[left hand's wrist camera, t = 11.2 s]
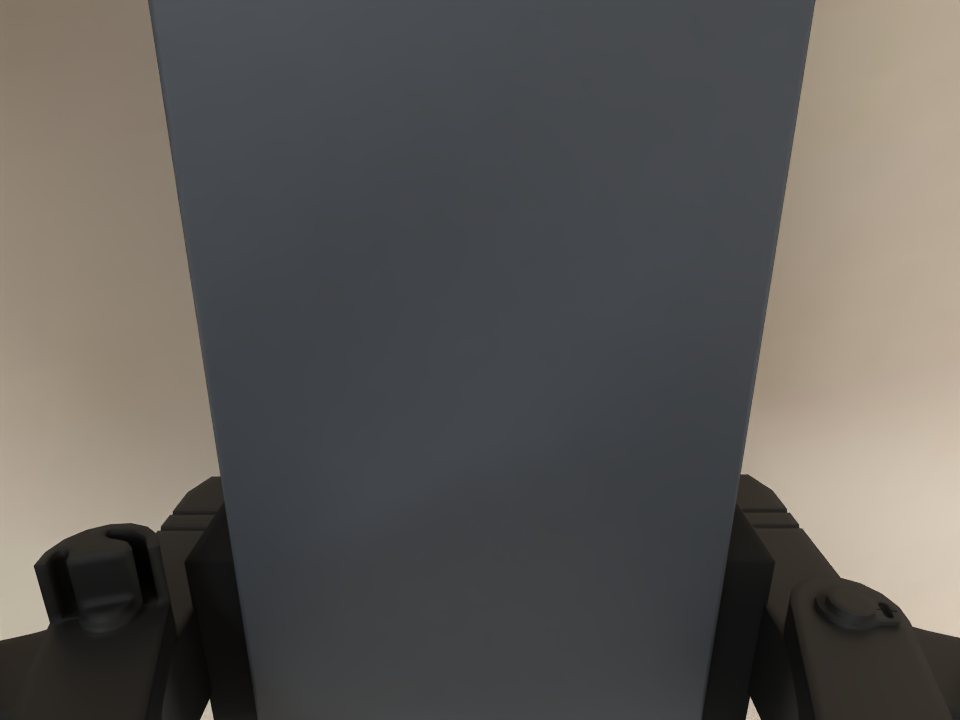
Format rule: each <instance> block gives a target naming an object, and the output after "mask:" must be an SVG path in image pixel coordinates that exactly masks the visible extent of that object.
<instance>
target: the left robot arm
mask: <svg viewBox="0 0 960 720" xmlns="http://www.w3.org/2000/svg"><path fill="white" fill-rule="evenodd" d="M34 568H35V572H36V575H37V579H38V583H39V586H40V590H41V593H42V597H43V600H44V604H45V607H46V611H47V614H48V618H49V621H50V624H49V626H48V629H47V630H44V631H41V632H37V633H34V634H29V635H24V636H20V637H15V638H11V639H6V640H2V641H0V720H200V718H201V716H202V714H203V712H204V710H205V708H206V706H207V703H208V701H209V699H210V702H211V707H212V712H213V718H214V720H258V718H257V712H256V705H255V698H254V692H253V685H252V679H251V672H250V666H249V659H248V653H247V646H246V639H245V633H244V626H243V620H242V613H241V607H240V600H239V593H238V587H237V580H236V574H235V567H234V561H233V554H232V547H231V541H230V534H229V528H228V521H227V515H226V508H225V501H224V495H223V488H222V482H221V477H210V478H209V479H207V480H206V481H204V482H203V483H201V484H200V485H198V486H197V487H195V488H194V489H192V490H191V491H189V492H188V493H187V494H186V495H185V496H184V498H183V499H182V500H181V502H180V503H179V504H178V505H177V507H176V508H175V509H174V511H173V515H170V516H169V517H168V518H167V520H166V521H165V522H164V524H163V525H162V526H161V531H157V533H155V532H153V531H152V530H151V529H150V528H148V527H146V526H141V525H137V524H132V523H127V524H109V525H105V526H101V527H97V528H93V529H89V530H85V531H83V532H81V533H78V534H76V535H74V536H71V537H69V538H67V539H64V540H63V541H61V542H60V543H58V544H57V545H55V546H54V547H52V548H51V549H49V550H48V551H46V552H45V553H44V554H43V556H42V557H41V558H40V559H39V560H38V561H37V563H36V564H35V565H34ZM750 697H751V699H752V701H753V703H754V705H755V708H756V710H757V712H758V714H759V716H760V718H761V720H960V638H958V637H953V636H949V635H944V634H939V633H935V632H930V631H926V630H922V629H919V628H915V627H912V625H911V623H910V621H909V620H908V619H907V617H906V616H905V614H904V613H903V612H902V610H901V609H900V608H899V607H898V606H897V605H896V604H894V603H893V602H892V601H891V600H889V599H888V598H887V597H885V596H884V595H883V594H881V593H879V592H877V591H875V590H873V589H871V588H869V587H867V586H865V585H863V584H861V583H857V582H854V581H850V580H846V579H843V578H840V576H839V575H838V574H837V573H836V571H835V570H834V569H833V567H832V566H831V565H830V564H829V562H828V561H827V560H826V558H825V557H824V556H823V555H822V553H821V552H820V551H819V550H818V548H817V547H816V546H815V544H814V543H813V542H812V541H811V539H810V538H809V537H808V535H807V534H806V533H805V532H804V530H803V529H802V528H799V524H798V523H797V521H796V520H795V519H794V517H793V516H792V515H791V514H790V513H787V509H786V507H785V506H784V505H783V503H782V502H781V501H780V500H779V498H778V497H777V496H776V494H775V493H774V492H773V491H772V490H771V489H769V488H768V487H766V486H765V485H763V484H762V483H760V482H759V481H757V480H756V479H754V478H753V477H751V476H750V475H740V480H739V486H738V492H737V499H736V505H735V511H734V518H733V524H732V530H731V537H730V543H729V549H728V556H727V562H726V568H725V575H724V581H723V587H722V594H721V600H720V606H719V613H718V619H717V625H716V632H715V638H714V644H713V651H712V657H711V663H710V670H709V676H708V682H707V689H706V695H705V701H704V708H703V714H702V720H746V715H747V710H748V704H749V699H750Z"/></svg>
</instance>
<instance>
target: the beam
mask: <svg viewBox="0 0 960 720" xmlns="http://www.w3.org/2000/svg"><path fill="white" fill-rule="evenodd" d="M148 3H149V9H150V16H151V22H152V29H153V35H154V42H155V48H156V55H157V62H158V68H159V75H160V81H161V88H162V94H163V101H164V108H165V114H166V121H167V127H168V134H169V140H170V147H171V154H172V160H173V167H174V173H175V180H176V186H177V193H178V199H179V206H180V213H181V219H182V226H183V232H184V239H185V245H186V252H187V259H188V265H189V272H190V278H191V285H192V291H193V298H194V305H195V311H196V318H197V324H198V331H199V337H200V344H201V350H202V357H203V364H204V370H205V377H206V383H207V390H208V396H209V403H210V410H211V416H212V423H213V429H214V436H215V442H216V449H217V456H218V462H219V469H220V475H221V482H222V488H223V495H224V501H225V508H226V515H227V521H228V528H229V534H230V541H231V547H232V554H233V561H234V567H235V574H236V580H237V587H238V593H239V600H240V607H241V613H242V620H243V626H244V633H245V639H246V646H247V653H248V659H249V666H250V672H251V679H252V685H253V692H254V698H255V705H256V712H257V718H258V720H702V714H703V708H704V701H705V695H706V689H707V682H708V676H709V670H710V663H711V657H712V651H713V644H714V638H715V632H716V625H717V619H718V613H719V606H720V600H721V594H722V587H723V581H724V575H725V568H726V562H727V556H728V549H729V543H730V537H731V530H732V524H733V518H734V511H735V505H736V499H737V492H738V486H739V480H740V473H741V467H742V461H743V454H744V448H745V442H746V435H747V429H748V423H749V416H750V410H751V404H752V398H753V391H754V385H755V379H756V372H757V366H758V360H759V353H760V347H761V341H762V334H763V328H764V322H765V315H766V309H767V303H768V296H769V290H770V284H771V277H772V271H773V265H774V258H775V252H776V246H777V239H778V233H779V227H780V220H781V214H782V208H783V201H784V195H785V189H786V182H787V176H788V170H789V163H790V157H791V151H792V144H793V138H794V132H795V125H796V119H797V113H798V106H799V100H800V94H801V87H802V81H803V75H804V68H805V62H806V56H807V49H808V43H809V37H810V30H811V24H812V18H813V11H814V5H815V0H148Z"/></svg>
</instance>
